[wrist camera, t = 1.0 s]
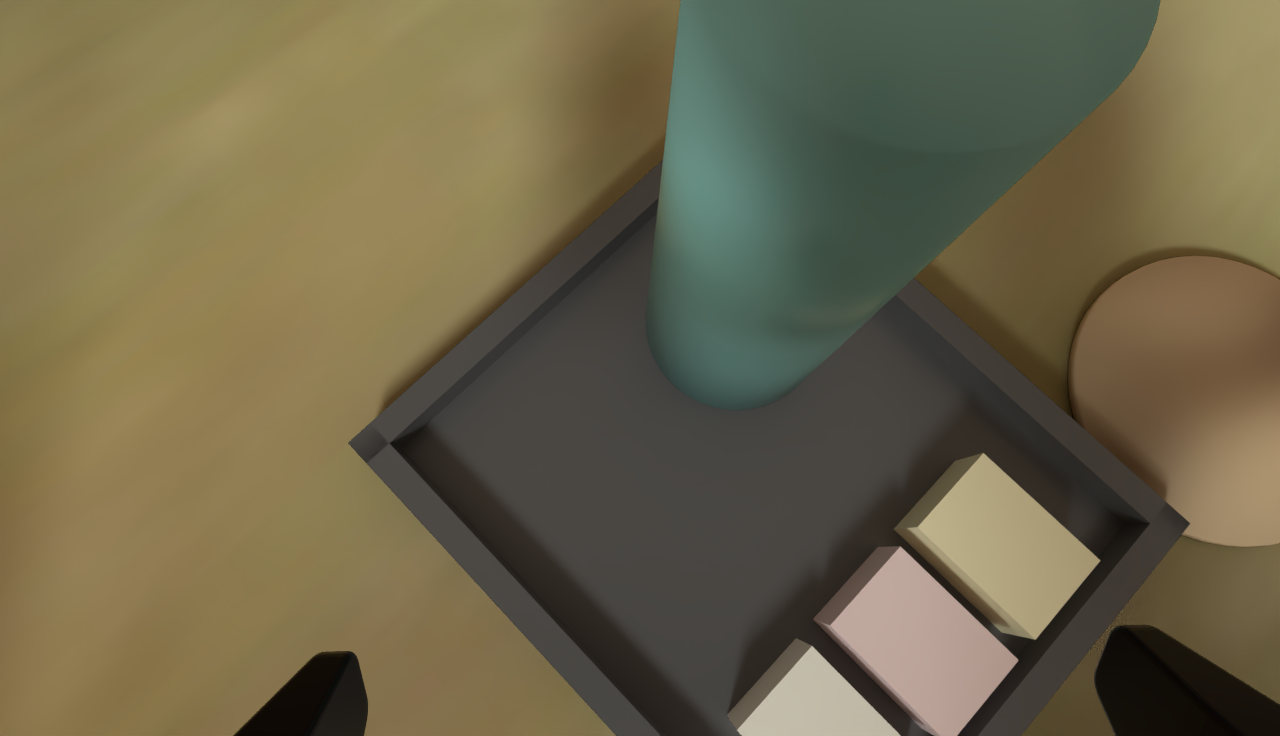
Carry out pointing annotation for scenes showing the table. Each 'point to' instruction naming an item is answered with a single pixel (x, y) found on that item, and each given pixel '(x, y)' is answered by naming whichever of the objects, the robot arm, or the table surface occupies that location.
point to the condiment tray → (769, 514)
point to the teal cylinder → (847, 162)
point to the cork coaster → (1189, 390)
